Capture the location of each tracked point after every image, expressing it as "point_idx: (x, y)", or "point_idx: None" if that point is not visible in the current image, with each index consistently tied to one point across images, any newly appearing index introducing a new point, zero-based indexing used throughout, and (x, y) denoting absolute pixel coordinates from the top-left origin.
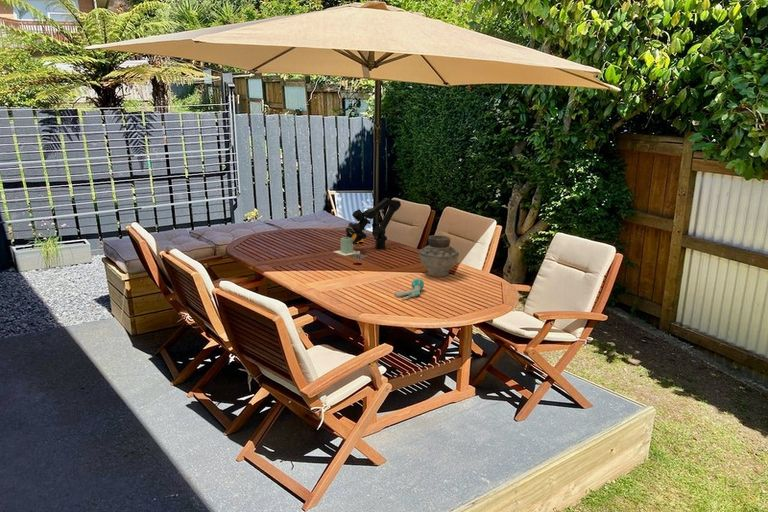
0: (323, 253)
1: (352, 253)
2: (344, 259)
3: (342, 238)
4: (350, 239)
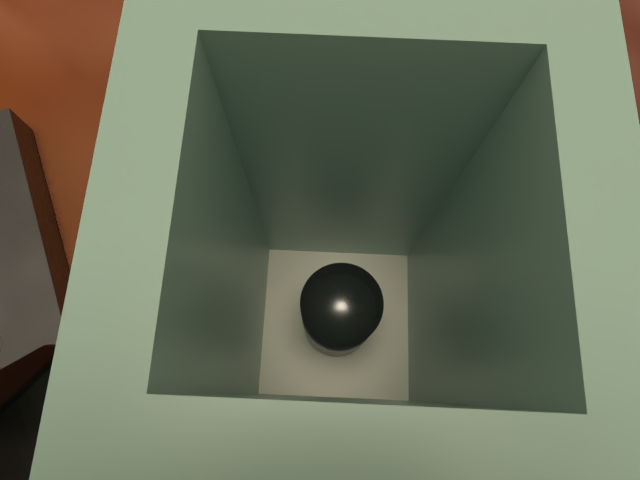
0: (632, 41)
1: None
2: (74, 68)
3: (491, 8)
4: (87, 262)
